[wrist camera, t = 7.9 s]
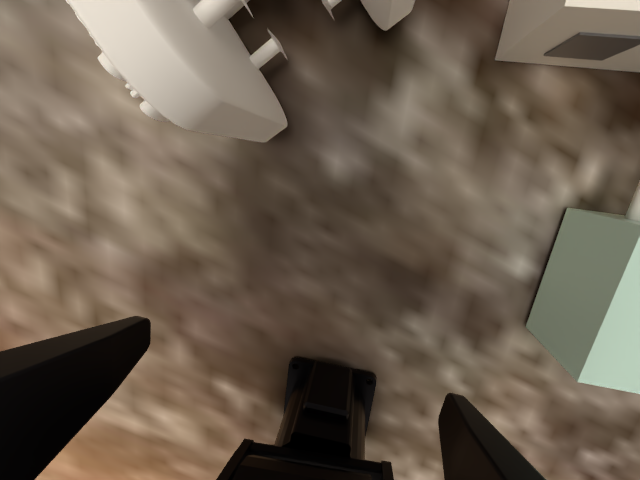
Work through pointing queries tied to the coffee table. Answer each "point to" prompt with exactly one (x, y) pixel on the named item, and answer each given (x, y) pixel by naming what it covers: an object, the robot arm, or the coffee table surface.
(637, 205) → the charger
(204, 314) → the coffee table surface
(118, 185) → the coffee table surface
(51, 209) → the coffee table surface
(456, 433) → the robot arm
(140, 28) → the cable organizer
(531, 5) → the bar
